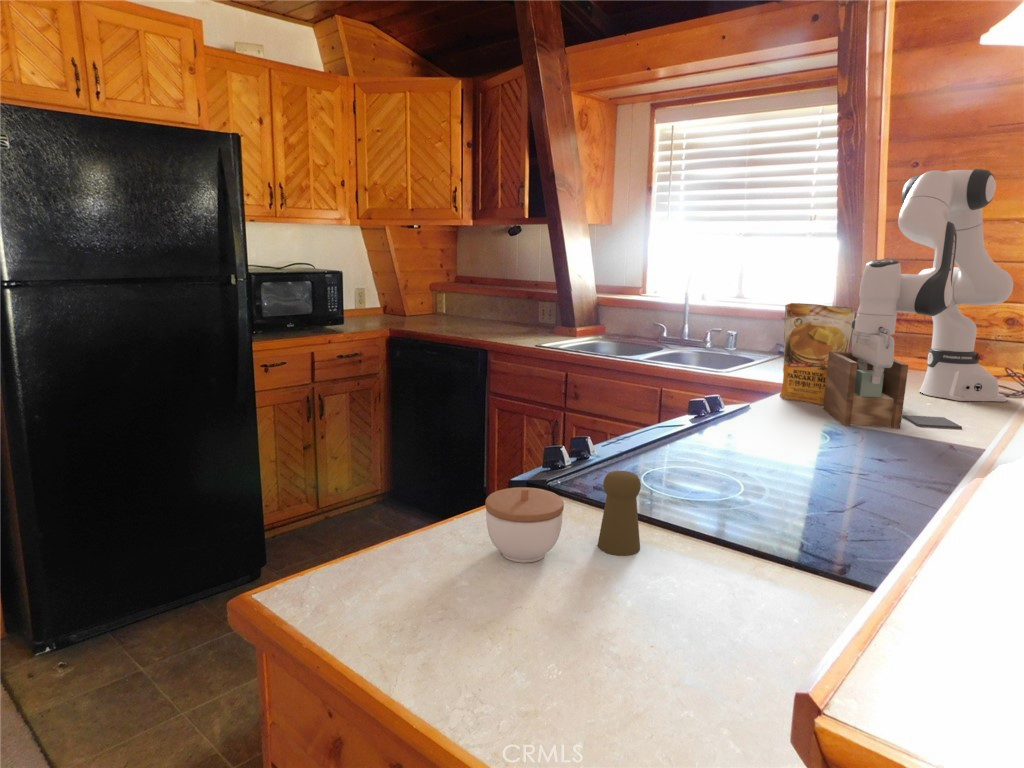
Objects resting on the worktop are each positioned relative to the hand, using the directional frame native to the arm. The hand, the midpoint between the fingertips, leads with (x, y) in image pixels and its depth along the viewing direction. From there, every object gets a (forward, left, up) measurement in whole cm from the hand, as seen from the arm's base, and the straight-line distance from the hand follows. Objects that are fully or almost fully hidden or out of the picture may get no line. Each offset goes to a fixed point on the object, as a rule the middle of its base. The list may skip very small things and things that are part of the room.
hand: (868, 380), depth 172 cm
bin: (0, -4, -11) cm, 11 cm away
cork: (+60, +90, -11) cm, 109 cm away
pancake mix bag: (+8, -23, -11) cm, 27 cm away
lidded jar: (+73, +95, -11) cm, 120 cm away
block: (0, 0, -4) cm, 4 cm away
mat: (-17, -3, -11) cm, 21 cm away
